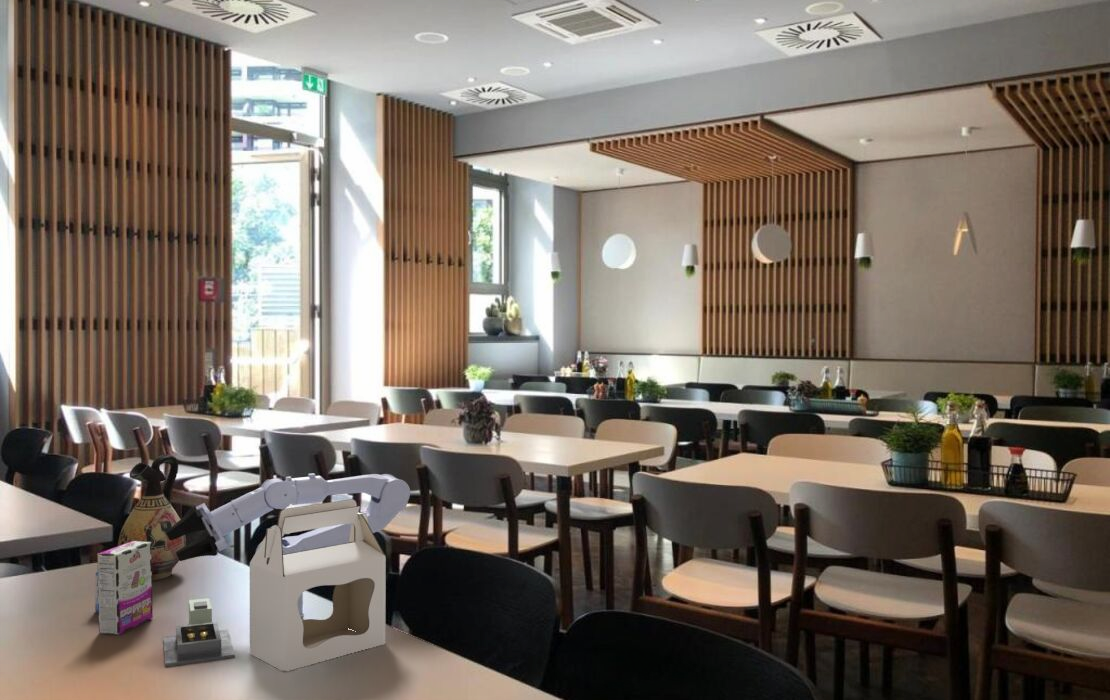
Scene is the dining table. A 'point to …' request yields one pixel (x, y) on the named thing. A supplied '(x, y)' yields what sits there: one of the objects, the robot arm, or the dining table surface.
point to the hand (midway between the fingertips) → (172, 546)
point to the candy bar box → (124, 587)
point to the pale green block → (200, 611)
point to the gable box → (289, 575)
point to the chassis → (197, 644)
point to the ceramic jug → (155, 516)
